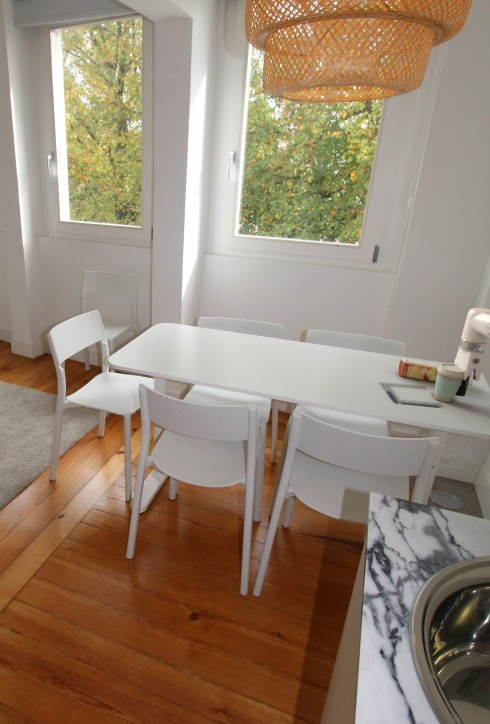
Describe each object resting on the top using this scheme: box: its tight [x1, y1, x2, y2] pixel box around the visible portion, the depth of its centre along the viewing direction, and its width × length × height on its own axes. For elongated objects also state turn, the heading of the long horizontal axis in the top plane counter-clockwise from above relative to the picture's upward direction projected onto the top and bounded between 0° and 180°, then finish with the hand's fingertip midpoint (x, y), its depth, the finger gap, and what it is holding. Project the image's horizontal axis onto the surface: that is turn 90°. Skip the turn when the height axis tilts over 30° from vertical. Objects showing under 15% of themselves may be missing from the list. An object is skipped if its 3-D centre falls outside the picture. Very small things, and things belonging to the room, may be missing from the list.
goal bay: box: [386, 390, 441, 409], centre depth 166 cm, size 16×14×1 cm
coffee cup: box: [433, 362, 464, 403], centre depth 162 cm, size 8×8×12 cm
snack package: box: [398, 357, 441, 383], centre depth 178 cm, size 21×7×7 cm, turn 67°
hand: (458, 394), depth 163 cm, fingers closed
